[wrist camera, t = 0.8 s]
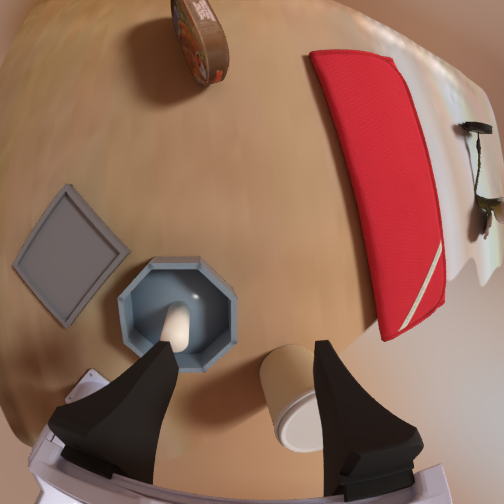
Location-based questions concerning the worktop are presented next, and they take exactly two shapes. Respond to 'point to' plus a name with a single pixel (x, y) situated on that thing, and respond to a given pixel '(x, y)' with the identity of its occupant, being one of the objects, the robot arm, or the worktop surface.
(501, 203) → the artificial flower
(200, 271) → the blue-grey octagonal bowl
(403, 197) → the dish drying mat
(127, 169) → the worktop surface
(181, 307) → the dowel pin
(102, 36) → the worktop surface
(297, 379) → the coffee cup
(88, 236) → the tray
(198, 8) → the tin
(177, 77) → the worktop surface
